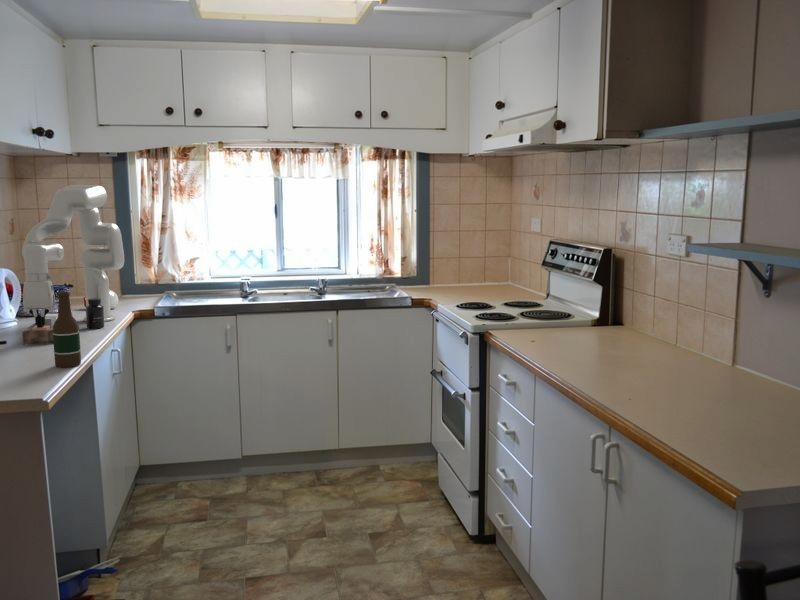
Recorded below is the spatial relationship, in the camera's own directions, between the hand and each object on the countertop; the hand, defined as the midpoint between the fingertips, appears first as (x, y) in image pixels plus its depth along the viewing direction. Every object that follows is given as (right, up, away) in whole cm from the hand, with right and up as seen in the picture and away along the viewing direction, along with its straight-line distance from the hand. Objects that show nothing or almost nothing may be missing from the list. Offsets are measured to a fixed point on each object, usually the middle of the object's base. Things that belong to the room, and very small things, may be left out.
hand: (40, 326), depth 263 cm
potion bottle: (-9, +5, +75) cm, 76 cm away
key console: (-2, -5, +8) cm, 9 cm away
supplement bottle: (+8, -2, +29) cm, 30 cm away
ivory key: (-3, 0, +14) cm, 14 cm away
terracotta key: (0, -4, +1) cm, 4 cm away
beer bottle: (+26, -11, -34) cm, 44 cm away
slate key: (-2, -1, +7) cm, 7 cm away
